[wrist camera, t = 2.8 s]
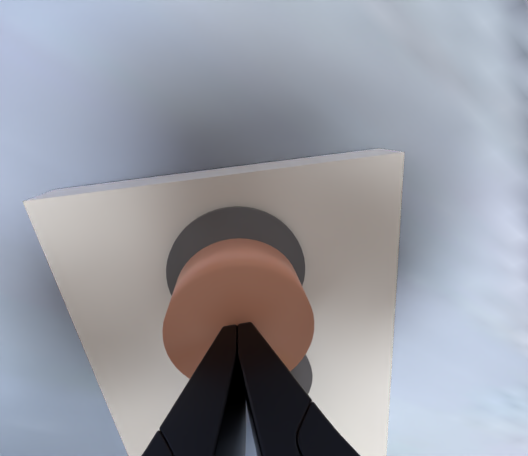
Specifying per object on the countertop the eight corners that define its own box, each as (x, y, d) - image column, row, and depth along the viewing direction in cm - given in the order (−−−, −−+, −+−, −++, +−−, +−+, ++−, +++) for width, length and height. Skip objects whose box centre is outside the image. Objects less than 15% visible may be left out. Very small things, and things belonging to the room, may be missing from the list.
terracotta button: (302, 334, 11) (317, 377, 9) (188, 354, 11) (180, 401, 9) (294, 229, 10) (310, 255, 8) (162, 248, 9) (145, 279, 7)
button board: (370, 446, 20) (387, 485, 18) (165, 487, 19) (156, 533, 17) (378, 148, 13) (408, 152, 11) (55, 189, 12) (16, 203, 10)
